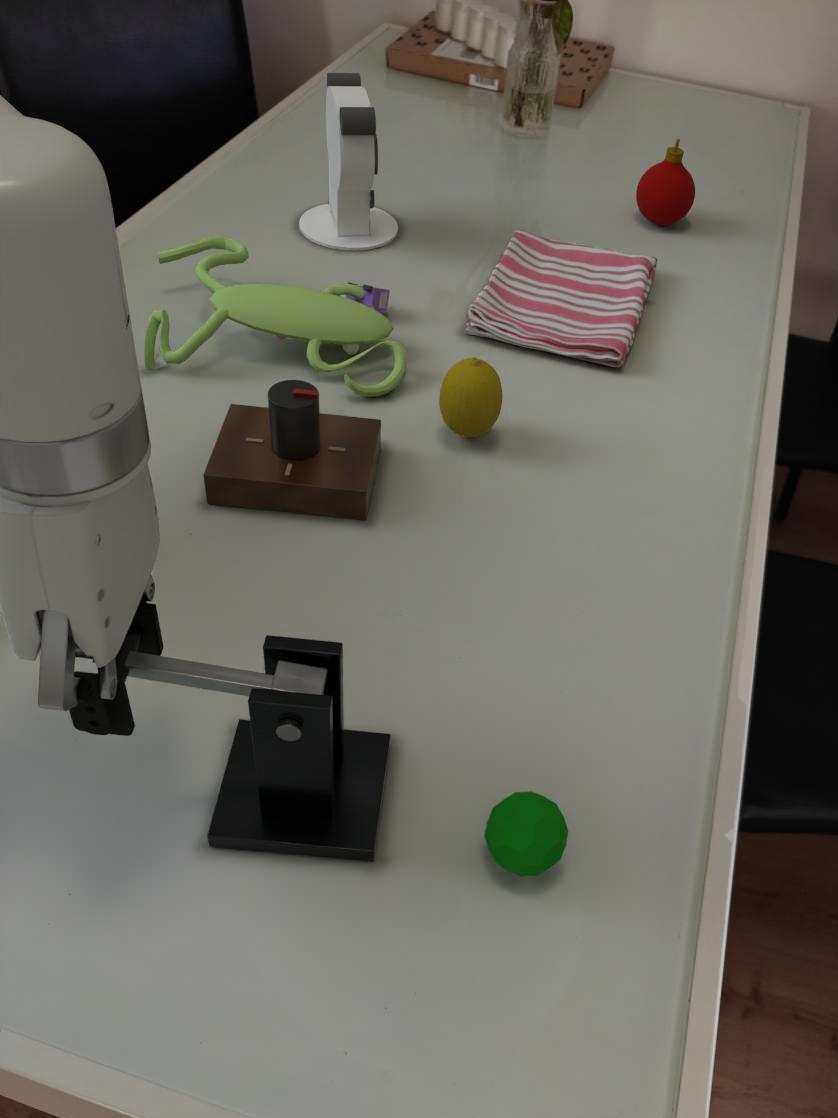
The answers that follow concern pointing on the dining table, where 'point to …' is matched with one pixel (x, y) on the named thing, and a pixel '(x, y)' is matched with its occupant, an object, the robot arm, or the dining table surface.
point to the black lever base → (301, 768)
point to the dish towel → (564, 299)
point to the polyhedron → (526, 833)
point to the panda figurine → (349, 173)
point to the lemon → (470, 397)
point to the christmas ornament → (666, 189)
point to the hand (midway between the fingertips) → (120, 687)
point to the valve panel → (294, 466)
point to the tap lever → (213, 672)
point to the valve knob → (294, 419)
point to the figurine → (284, 315)
